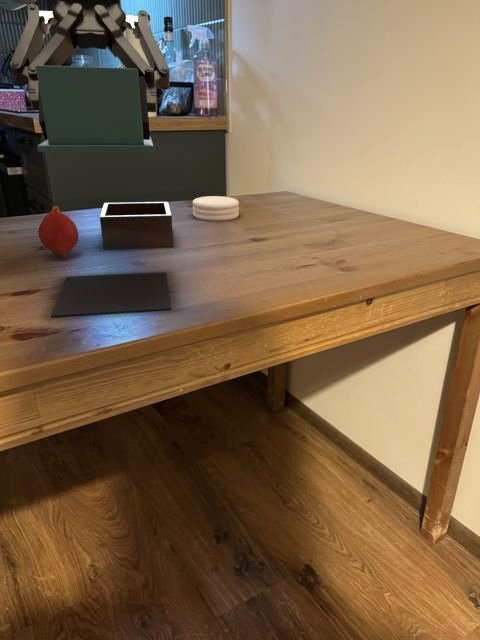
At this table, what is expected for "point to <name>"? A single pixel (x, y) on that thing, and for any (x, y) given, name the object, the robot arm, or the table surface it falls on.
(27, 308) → the table surface
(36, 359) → the table surface
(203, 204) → the white short cylinder
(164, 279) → the mat
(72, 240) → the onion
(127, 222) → the box
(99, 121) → the box
